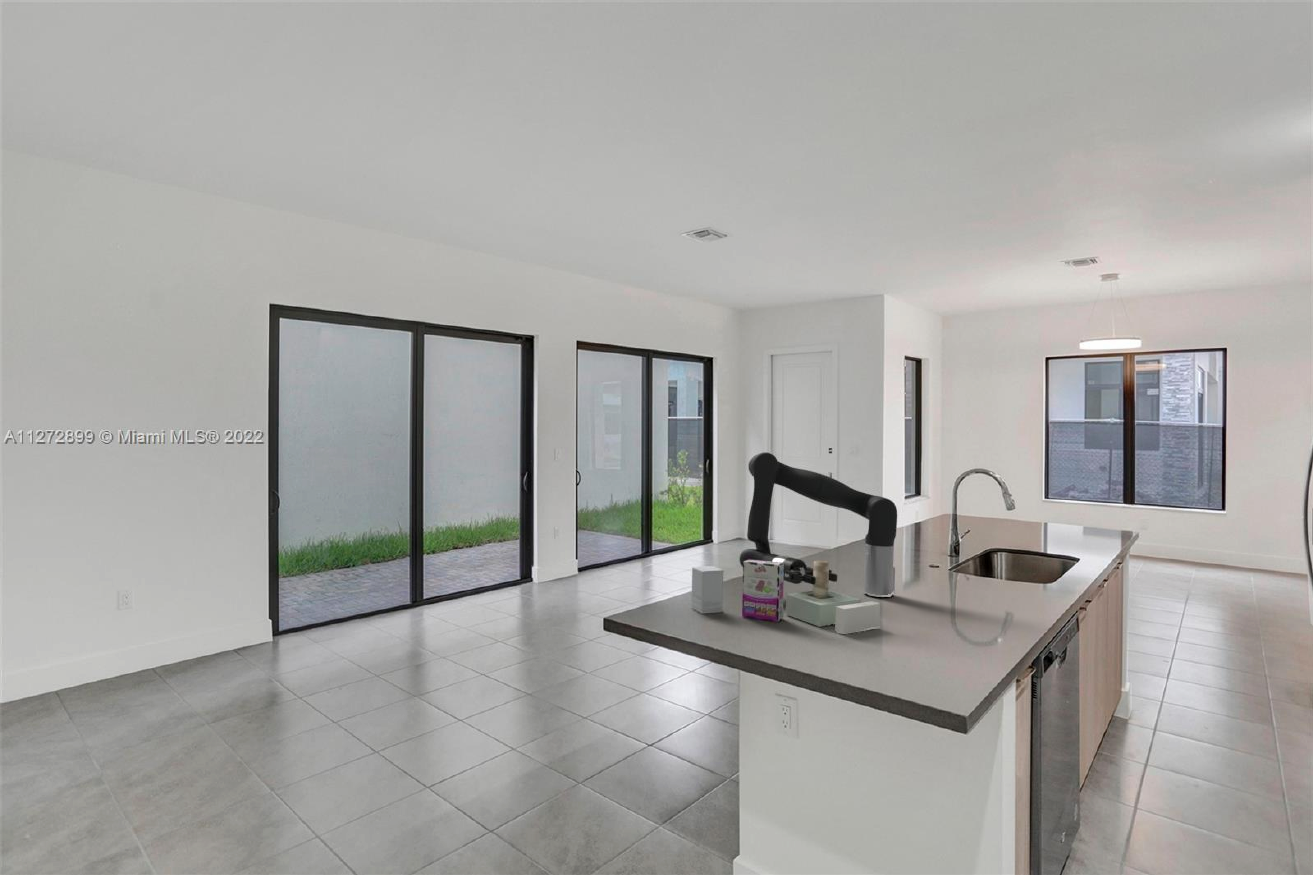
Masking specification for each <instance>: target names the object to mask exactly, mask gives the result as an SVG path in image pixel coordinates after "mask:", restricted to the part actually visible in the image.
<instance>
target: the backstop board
mask: <svg viewBox="0 0 1313 875" xmlns="http://www.w3.org/2000/svg"><path fill="white" fill-rule="evenodd" d="M880 622H881V603H880V602H876V601H872V600H871V601H864V602H861V603H856V604H850V605H843V606H836V619H835V624H834V625H835V626H834V628H835V629H834V632H835V631H836V632H840V633H842V634H845V633H849V632H856V631H860V630H864V629H867V628H871V627H878V626H881V625H880ZM836 632H835V633H836Z"/></svg>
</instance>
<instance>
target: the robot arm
mask: <svg viewBox="0 0 1313 875" xmlns="http://www.w3.org/2000/svg"><path fill="white" fill-rule="evenodd" d="M748 471H749V473H750V475H751V477H752V478H753V493H752V494H753V495H752V501H751V505H750V509H749V513H748V520H747V521H748V523H747V533H746V539H747V540H748V541H750V542H752V543H754V545H755V548H747V549H744V550H743V551H742V552H741V553H740V555H739V563H740V565H741V567H742V568H743V562H744V561H746V560H748V559H751V560H760V561H771V562H780V563H784V582H788V583H791V584H794V585H795V584H796V585H799V584H802V583H803V584H804V583H807V584H811V585H813V584H815V583H816V578H815V577H814V576H813V569H814V567H812V566H807V564H806V563H805V561H804V560H802V559H799V558H795V557H791V556H787V555H779V554H777V553H776V554H775V553H772V552H771V548H770V547H771V546H770V542H769V531H770V519H771V508H772V507H771V505H772V496H773V492H774V485H778V486H781V487H784V488H786V489H788V490H791V491H793V492H794V493H797V494H799V495H801V496H804V497H805V498H808V499H809V500H812V501H815V502H818V503H820V504H823V505H827V506H830V507H834V508H838V509H844V510H848V511H850V512H852V513H855V514H857V515H859V516H861V517H862V518H865V519H866V520H868V531H867V534H866V535H865V538H864V539H865V540H864V542H865V543H864V571H863V572H864V576H863V577H864V579H863V580H864V581H863V582H864V583H863V592H864V591H865V592H867V593H870V594H875V595H888V594H891V593H892V592H893V591H894V592H896V591H895V588H896V587H895V582H896V568H895V567H894V552H895V551H894V550H895V549H894V548H895V545H894V544H895V539H896V537H897V529H898V527H897V526H898V510H897V505H896V504H895V503H894V502H893V500H891V499H889V498H886V497H883V496H880V495H879V496H878V495H874V494H870V493H865V492H862V491H859V490H856V489H854V488H852V487H850V486H848V485H847V484H845V483H843V482H842V481H839V480H837V479H835V478H833V477H830V476H827V475H825V474H822V473H818V472H815V471H812V470H808V469H803V468H798V467H797V468H796V467H792V466H789V465H787V464H785V463H783V462H780V461H778V458H777V457H776V456H775V455H774V454H773V453H770V452H764V451H763V452H760V453H757V454H755V455H754V456H753V457H752V458H751V459H750V460H749V461H748ZM829 582H833V583H835V582H836V583H837V582H838V574H837V573H833V570H832V569H829Z"/></svg>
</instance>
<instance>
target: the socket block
mask: <svg viewBox="0 0 1313 875" xmlns="http://www.w3.org/2000/svg"><path fill="white" fill-rule="evenodd" d="M785 595H786V596H785V615H786V616H789V617H791V618H795V619H797V620H799V621H803V622H806V623H809V624H811V625H813V626H816V627H819V628H821V627H826V625H827V626H831V625H830V624H833V625H835V624H834V623H835V619H836V606H843V605H850V604H856V603H862V599H861V598H858V597H854V596H851V595H847V594H843V593H841V592H837V591H835V590H831V589H828V598H826V599H818V598H815V597H813V590H807V591H800V592H792V593H787V594H786V593H785Z"/></svg>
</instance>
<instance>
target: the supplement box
mask: <svg viewBox="0 0 1313 875" xmlns="http://www.w3.org/2000/svg"><path fill="white" fill-rule="evenodd" d="M691 571H692V572H691V603H690V604H691V606H690V607H691V609H693V610H695V611H696V612H697V613H700V614H715V613H722V612H723V610H724V608H723V607H724V570H723V569H721V568H718V567H716V566H714V565H707V566H693V567H692V568H691Z"/></svg>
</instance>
